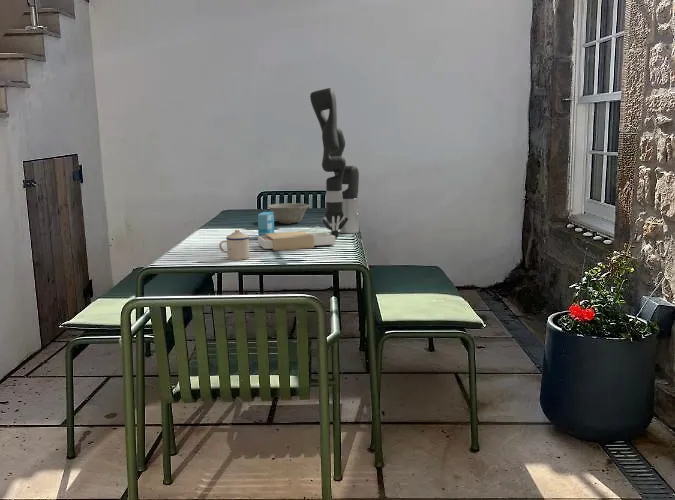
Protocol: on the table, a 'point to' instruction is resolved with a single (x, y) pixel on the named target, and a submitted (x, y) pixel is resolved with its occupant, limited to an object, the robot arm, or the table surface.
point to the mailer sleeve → (291, 240)
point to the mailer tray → (319, 238)
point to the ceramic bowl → (288, 212)
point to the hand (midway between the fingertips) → (334, 238)
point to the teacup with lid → (236, 246)
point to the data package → (265, 223)
